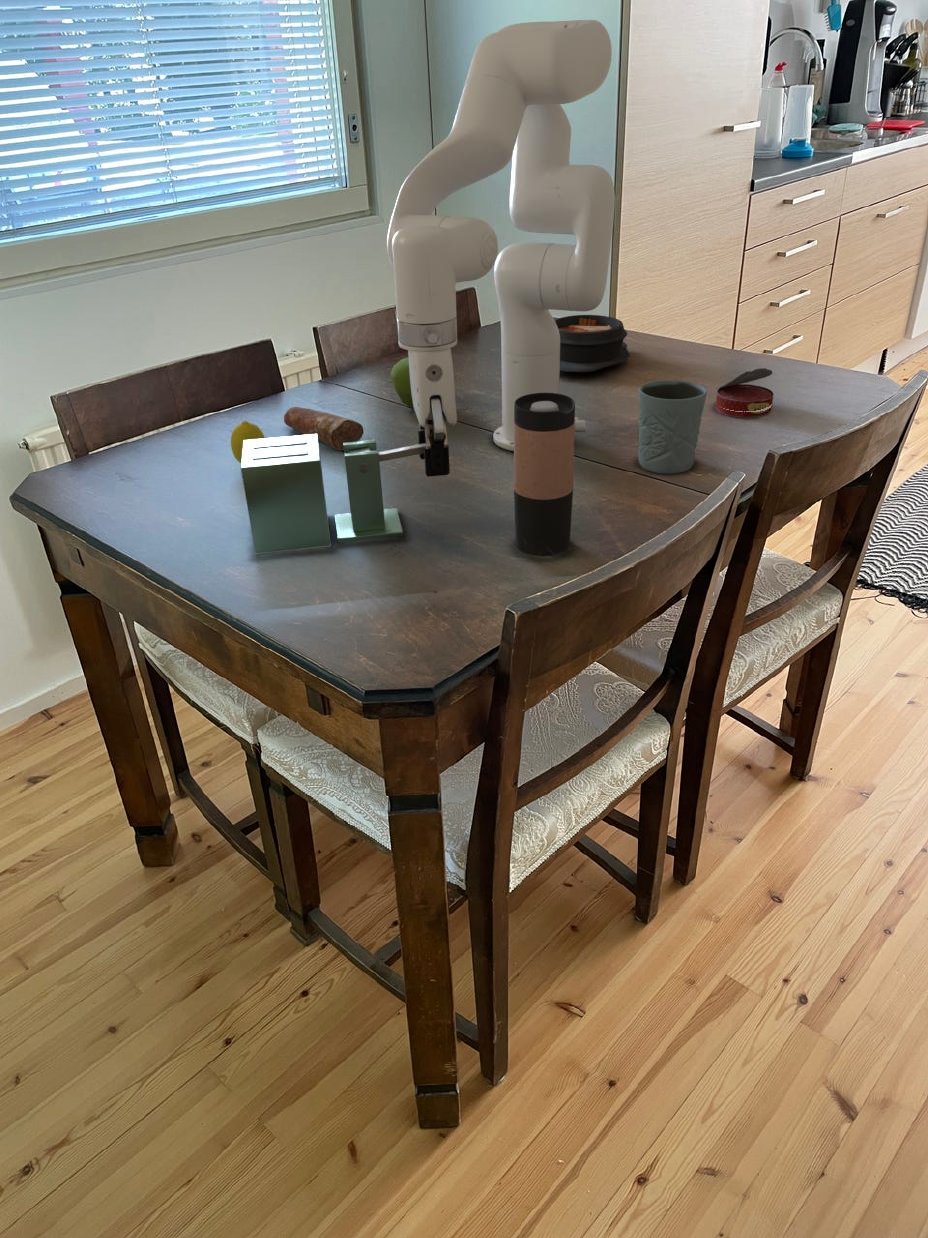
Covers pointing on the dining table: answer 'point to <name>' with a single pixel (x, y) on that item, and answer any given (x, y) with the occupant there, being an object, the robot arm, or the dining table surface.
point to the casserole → (591, 342)
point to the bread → (324, 426)
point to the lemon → (244, 437)
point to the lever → (397, 452)
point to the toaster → (285, 494)
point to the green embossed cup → (669, 424)
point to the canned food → (745, 396)
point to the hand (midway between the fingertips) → (434, 464)
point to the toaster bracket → (365, 498)
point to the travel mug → (543, 472)
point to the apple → (402, 381)
